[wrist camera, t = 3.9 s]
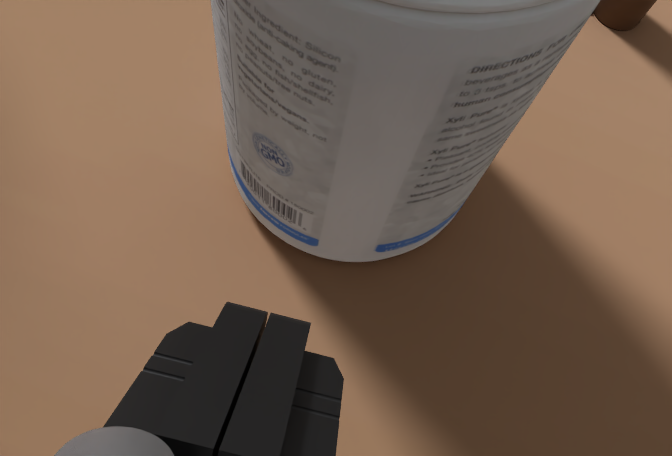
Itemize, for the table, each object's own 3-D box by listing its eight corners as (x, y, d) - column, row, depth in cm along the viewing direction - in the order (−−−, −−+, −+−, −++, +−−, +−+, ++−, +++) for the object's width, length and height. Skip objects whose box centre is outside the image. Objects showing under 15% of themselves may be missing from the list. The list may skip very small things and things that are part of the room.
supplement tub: (452, 71, 27) (648, -354, 13) (477, 274, 23) (787, -41, 9) (230, 57, 26) (202, -424, 12) (216, 268, 22) (154, -99, 8)
